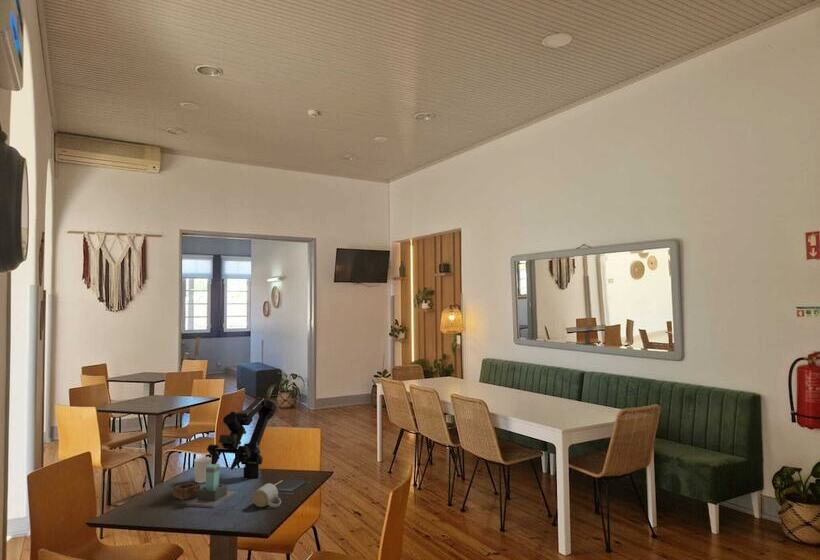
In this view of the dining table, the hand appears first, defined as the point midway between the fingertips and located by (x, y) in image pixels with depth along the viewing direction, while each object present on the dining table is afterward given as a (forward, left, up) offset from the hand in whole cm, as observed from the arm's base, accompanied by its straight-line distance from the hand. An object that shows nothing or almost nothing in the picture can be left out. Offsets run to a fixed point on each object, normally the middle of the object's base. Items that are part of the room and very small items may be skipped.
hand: (221, 468), depth 237 cm
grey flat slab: (-28, -2, -12) cm, 30 cm away
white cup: (+9, -24, -11) cm, 28 cm away
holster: (+14, -3, -11) cm, 18 cm away
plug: (+3, +6, -10) cm, 12 cm away
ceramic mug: (-19, +20, -11) cm, 30 cm away
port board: (+3, +6, -11) cm, 13 cm away
